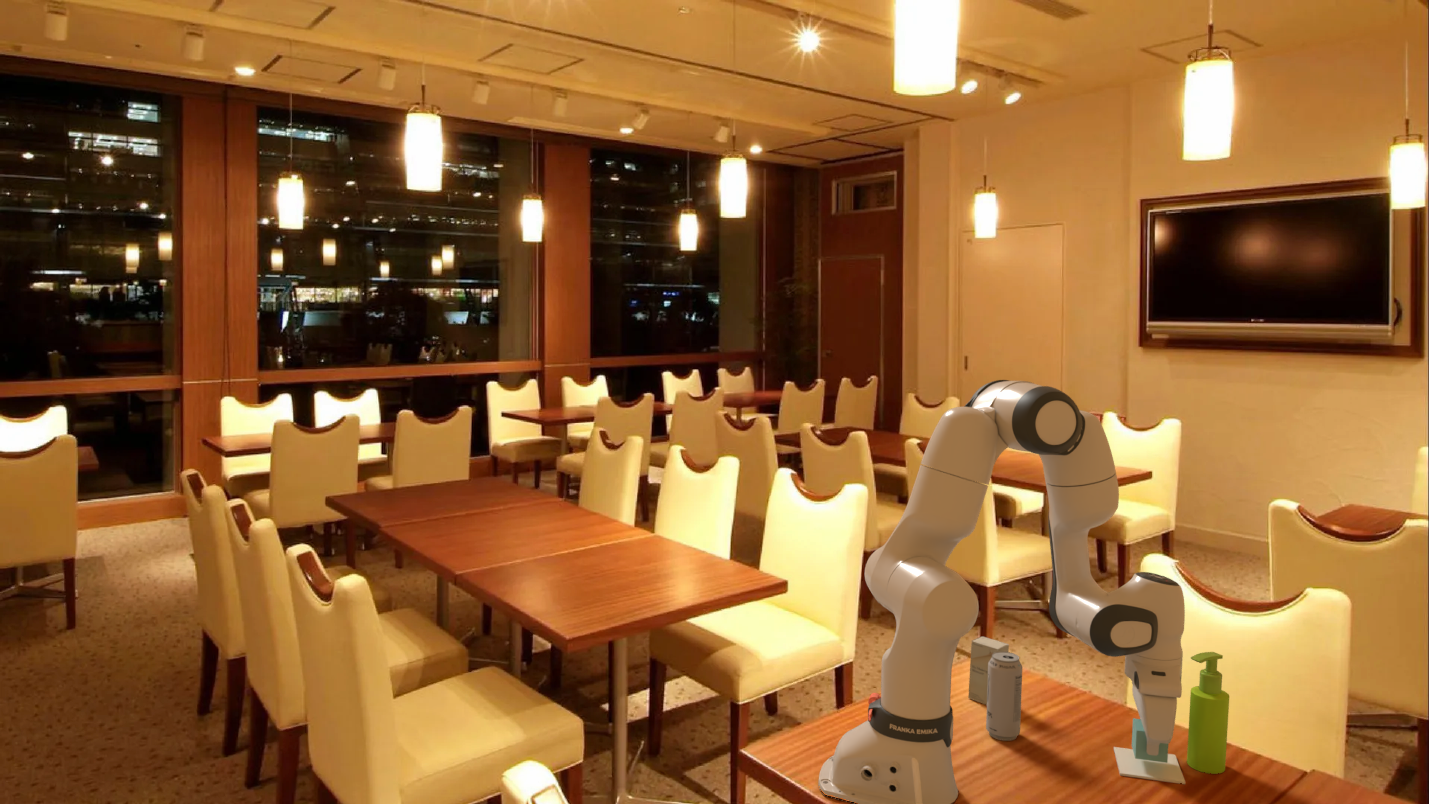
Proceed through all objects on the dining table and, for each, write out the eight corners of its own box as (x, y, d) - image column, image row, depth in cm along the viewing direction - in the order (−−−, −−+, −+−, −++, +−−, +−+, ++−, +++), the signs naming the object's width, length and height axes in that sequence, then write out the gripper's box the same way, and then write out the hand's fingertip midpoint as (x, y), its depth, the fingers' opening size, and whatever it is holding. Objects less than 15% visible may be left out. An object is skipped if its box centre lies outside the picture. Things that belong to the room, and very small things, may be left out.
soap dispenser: (1174, 762, 164) (1180, 650, 162) (1203, 755, 167) (1210, 645, 165) (1203, 777, 159) (1209, 662, 157) (1233, 770, 162) (1239, 657, 160)
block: (1135, 758, 161) (1136, 730, 161) (1131, 745, 166) (1132, 718, 165) (1167, 762, 160) (1168, 734, 159) (1162, 749, 164) (1164, 721, 164)
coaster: (1120, 775, 160) (1120, 773, 160) (1113, 748, 169) (1113, 746, 169) (1185, 784, 157) (1185, 781, 157) (1174, 756, 166) (1175, 754, 166)
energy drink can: (988, 725, 179) (991, 648, 177) (1021, 731, 176) (1024, 653, 175) (983, 738, 173) (986, 659, 172) (1017, 744, 171) (1020, 664, 169)
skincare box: (967, 698, 191) (969, 640, 190) (979, 692, 194) (981, 635, 193) (995, 708, 186) (997, 648, 185) (1007, 702, 189) (1009, 643, 188)
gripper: (1125, 644, 172) (1122, 717, 173) (1140, 687, 153) (1136, 769, 154) (1163, 648, 170) (1159, 722, 172) (1183, 692, 151) (1179, 775, 152)
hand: (1149, 745), depth 163 cm, fingers closed on block, 5 cm apart
